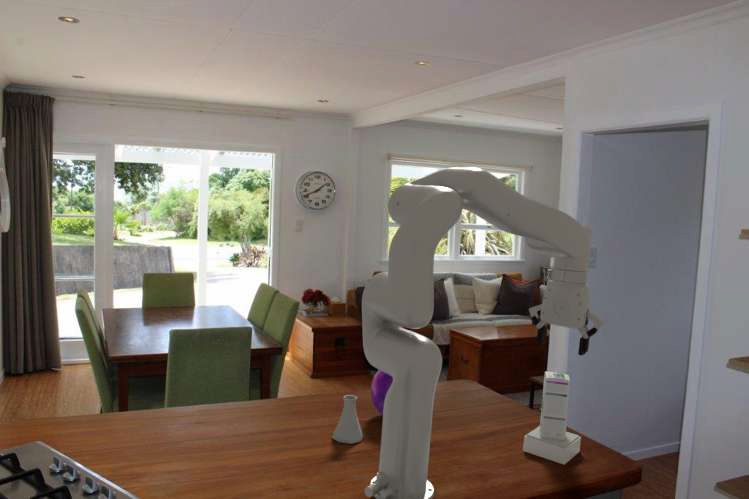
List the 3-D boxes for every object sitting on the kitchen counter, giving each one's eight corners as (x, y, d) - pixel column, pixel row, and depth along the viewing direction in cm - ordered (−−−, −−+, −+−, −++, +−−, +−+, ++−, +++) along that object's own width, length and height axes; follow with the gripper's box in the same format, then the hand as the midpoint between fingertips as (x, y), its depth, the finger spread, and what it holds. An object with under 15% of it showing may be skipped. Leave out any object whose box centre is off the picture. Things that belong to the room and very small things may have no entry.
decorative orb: (394, 434, 147) (399, 374, 146) (357, 414, 159) (361, 358, 158) (438, 423, 157) (443, 366, 155) (400, 404, 168) (404, 351, 167)
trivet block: (564, 464, 137) (566, 447, 137) (522, 450, 143) (524, 434, 143) (579, 451, 145) (581, 435, 145) (539, 438, 151) (541, 423, 151)
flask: (326, 439, 142) (328, 397, 141) (342, 429, 148) (345, 389, 147) (352, 447, 139) (355, 404, 138) (368, 437, 145) (371, 396, 144)
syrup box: (565, 441, 141) (572, 380, 139) (539, 437, 142) (545, 376, 140) (563, 432, 146) (570, 373, 145) (538, 428, 147) (544, 370, 146)
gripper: (527, 272, 143) (519, 344, 144) (602, 284, 132) (593, 361, 134) (540, 271, 148) (532, 339, 150) (612, 281, 138) (604, 355, 140)
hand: (561, 349), depth 142 cm, fingers open, 9 cm apart
